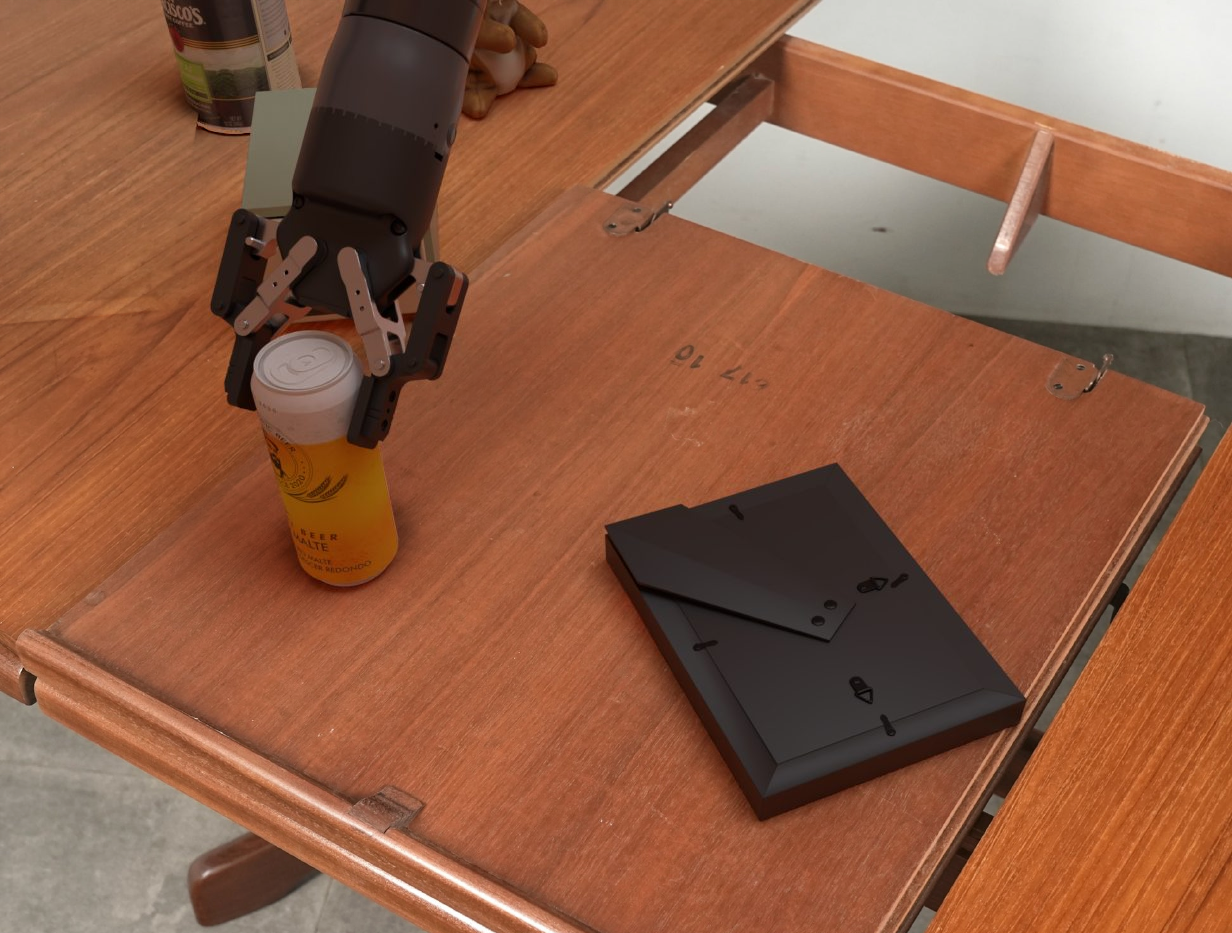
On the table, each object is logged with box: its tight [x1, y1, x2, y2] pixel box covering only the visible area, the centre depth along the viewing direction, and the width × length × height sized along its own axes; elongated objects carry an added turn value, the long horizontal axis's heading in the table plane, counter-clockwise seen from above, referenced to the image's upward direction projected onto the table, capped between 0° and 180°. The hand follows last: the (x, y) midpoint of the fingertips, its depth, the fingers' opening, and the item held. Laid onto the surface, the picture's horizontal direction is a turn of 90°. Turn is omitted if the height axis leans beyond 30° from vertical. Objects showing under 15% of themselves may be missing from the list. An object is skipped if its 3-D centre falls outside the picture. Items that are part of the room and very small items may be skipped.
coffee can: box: [160, 0, 303, 132], centre depth 117 cm, size 10×10×14 cm
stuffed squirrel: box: [462, 0, 559, 119], centre depth 120 cm, size 10×14×13 cm
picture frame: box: [604, 461, 1028, 822], centre depth 78 cm, size 16×3×21 cm
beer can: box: [251, 329, 399, 587], centre depth 79 cm, size 6×6×15 cm
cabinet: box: [240, 86, 441, 325], centre depth 103 cm, size 17×13×10 cm
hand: (300, 426), depth 75 cm, fingers open, 7 cm apart
